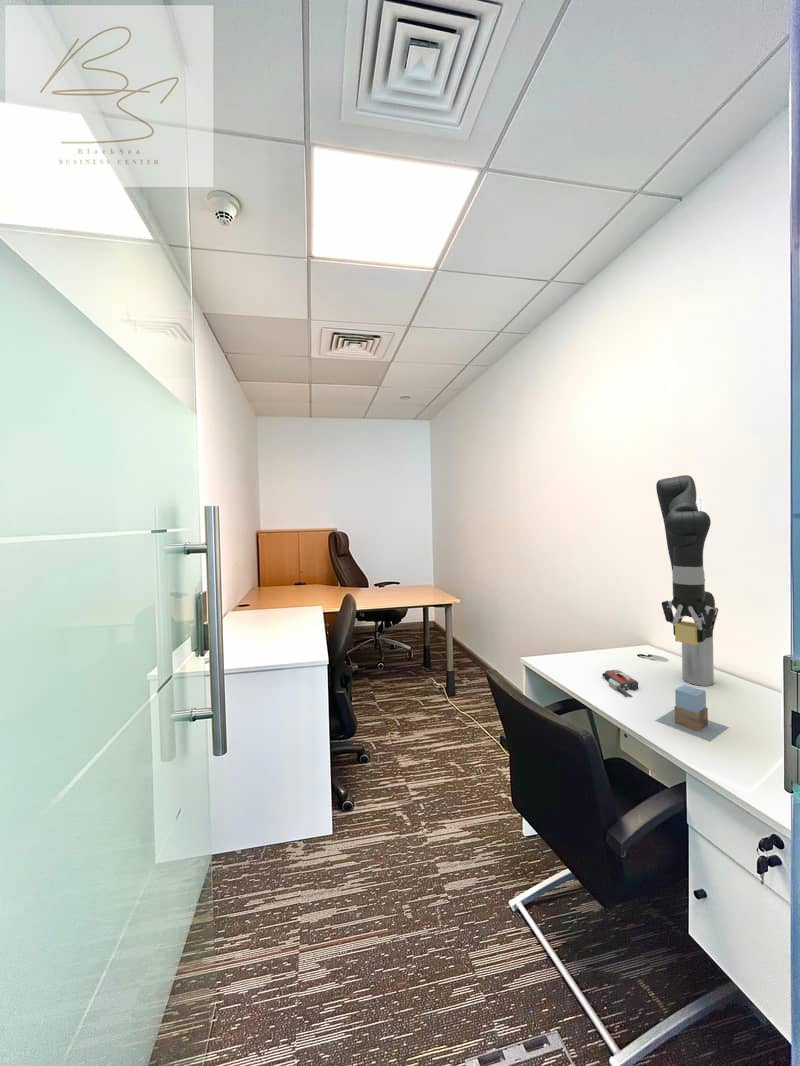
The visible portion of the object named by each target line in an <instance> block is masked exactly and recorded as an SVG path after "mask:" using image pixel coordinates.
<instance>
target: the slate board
mask: <svg viewBox="0 0 800 1066" xmlns="http://www.w3.org/2000/svg"><path fill="white" fill-rule="evenodd" d="M655 722H657V723H660V724H662V725H665V726H668V727H669V728H670V727H671V728H673V729H675V730H679V731H681V732H684V733H686V734H689V735H692V736H694V737H697V738H699V739H702V740H704V741H707V742H712V741H713V740H714V739H716V738H717V737H719V735H721V734H722V733H724V732H725V731H726V730H727V729H729V728H730V726H726V725H723V724H720V723H717V722H715V721H712V720H709V719H708V725H707V726H706V727H704V728H703V729H701V730H700V731H695V730H692V729H690V728H687V727H684V726H682V725H679V724H676V723H675V711H674V709H672V710H671V711H668V712H667V713H666V714H663V715H662V716H661V717H659V718H656V719H655Z"/></svg>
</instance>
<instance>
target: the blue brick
mask: <svg viewBox="0 0 800 1066" xmlns="http://www.w3.org/2000/svg"><path fill="white" fill-rule="evenodd" d="M674 691H675V692H674V693H675V695H674V696H675V706H676V707H679V708H682V709H685V710H688V711H691V712H694V713H699V712H700V711H702V710H703V709H705V708H707V695H706V694H707V693H706V692H707V691H706V690H704V689H701V688H699V687H698V688H697V687H694V686H690V685H687V684H682V685H681V686H678V687H677V688H676V689H675V690H674Z"/></svg>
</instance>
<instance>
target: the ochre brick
mask: <svg viewBox="0 0 800 1066" xmlns="http://www.w3.org/2000/svg"><path fill="white" fill-rule="evenodd" d="M697 630H698V627H697V625H696V623H695V622H692V621H687V620H682V621H681V622H679V623H676V624H675V635H674V637H675V638H674V641H675V642H678V643H681V644H682V643H687V644H691V645H697V644H699V643H698V642H697Z"/></svg>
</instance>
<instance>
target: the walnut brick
mask: <svg viewBox="0 0 800 1066" xmlns="http://www.w3.org/2000/svg"><path fill="white" fill-rule="evenodd" d="M708 709H709V708H708V707H706V708H705V709H703V710H702V711H700V712H699V713H694V712H691V711H688V710H685V709H682V708H679V707H676V705H674V708H673V710H674V711H675V723H676V724H679V725H682V726H684V727H687V728H690V729H692V730H695V731H700V730H701V729H703V728H704V727H706V726H707V725H708V720H709V716H708V713H709V712H708V711H709V710H708Z"/></svg>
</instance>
